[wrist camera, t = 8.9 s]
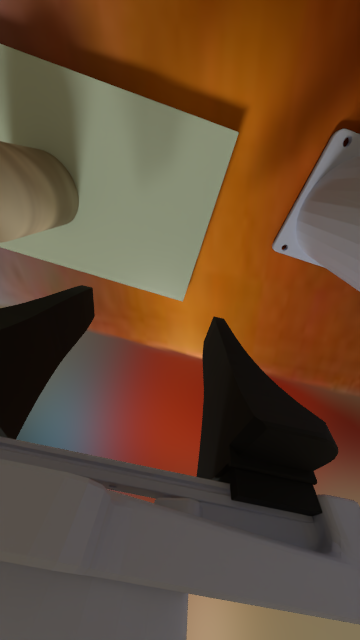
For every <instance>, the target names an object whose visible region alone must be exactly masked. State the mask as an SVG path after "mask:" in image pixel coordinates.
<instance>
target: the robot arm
mask: <svg viewBox="0 0 360 640" xmlns="http://www.w3.org/2000/svg"><path fill="white" fill-rule="evenodd" d="M346 137H347V138H348V139H349V142H348V144H347V145H346V147H344V146H343V141H344V140H345V138H346ZM283 245H287V246H286V248H285V249H283V250H282V249H281V248H282V246H283ZM272 248H273V250H275V251H276V252H279V253H282V254H285V255H288V256H291V257H294V258H298V259H301V260H304V261H307V262H310V263H313V264H316V265H319V266H322V267H325V268H327V269H328V270H329V271H331V272H332V273H334V274H335V275H337V276H338V277H340V278H341V279H342V280H344V281H345V282H347V283H348V284H350V285H351V286H352V287H354V288H355V289H357V290H358V291H360V134H358V133H356V132H353V131H351V130H348V129H341V130H338V131H336V132H335V133H334V134H333V135H332V137H331V138H330V140H329V142H328V144H327V146H326V147H325V149H324V151H323V153H322V155H321V157H320V158H319V160H318V162H317V164H316V166H315V167H314V169H313V171H312V173H311V175H310V177H309V178H308V180H307V182H306V184H305V186H304V188H303V189H302V191H301V193H300V195H299V197H298V199H297V200H296V202H295V204H294V206H293V208H292V209H291V211H290V213H289V215H288V217H287V219H286V220H285V222H284V224H283V226H282V228H281V230H280V231H279V233H278V235H277V237H276V239H275V241H274V242H273V245H272ZM94 316H95V315H94V302H93V288H91V287H87V286H83V285H82V286H77V287H74V288H71V289H67V290H64V291H61V292H58V293H55V294H52V295H49V296H46V297H43V298H39V299H36V300H32V301H29V302H26V303H22V304H18V305H14V306H9V307H5V308H0V640H186V632H187V610H188V594H194V595H199V596H205V597H210V598H216V599H222V600H227V601H233V602H238V603H244V604H250V605H255V606H261V607H266V608H272V609H277V610H283V611H288V612H294V613H299V614H305V615H310V616H316V617H321V618H327V619H332V620H339V621H343V622H349V623H354V624H360V507H359V505H358V503H357V502H355V501H354V500H350V499H345V498H340V497H335V496H330V495H316V492H315V490H314V487H313V485H315V484H317V479H316V477H315V474H314V472H313V471H314V470H316V469H318V468H320V467H322V466H324V465H326V464H327V463H329V462H331V461H332V460H334V459H335V457H336V456H337V454H338V447H337V445H336V443H335V441H334V439H333V437H332V435H331V433H330V431H329V429H328V427H327V425H326V423H325V422H324V421H323V420H321V419H320V418H318V417H317V416H316V415H314V414H313V413H312V412H310V411H309V410H307V409H306V408H305V407H303V406H302V405H300V404H299V403H298V402H297V401H296V400H294V399H293V398H292V397H291V396H289V395H288V394H287V393H286V392H285V391H284V390H282V389H281V388H280V387H279V386H278V385H276V383H274V381H272V380H271V379H270V378H269V377H268V376H267V375H266V374H265V373H264V372H263V371H262V370H261V369H260V368H259V366H258V365H257V364H256V363H255V362H254V361H253V360H252V359H251V357H250V356H249V355H248V354H247V352H246V351H245V350H244V348H243V347H242V346H241V344H240V343H239V342H238V340H237V339H236V337H235V336H234V334H233V333H232V331H231V329H230V328H229V326H228V325H227V323H226V321H225V320H224V319H222V318H218V317H213V320H212V322H211V325H210V327H209V330H208V333H207V335H206V338H205V340H204V346H203V379H204V404H203V418H202V419H203V420H202V431H201V441H200V452H199V461H198V470H197V477H194V476H189V475H185V474H180V473H175V472H170V471H165V470H160V469H155V468H151V467H146V466H141V465H136V464H131V463H126V462H122V461H117V460H112V459H107V458H102V457H97V456H92V455H88V454H83V453H78V452H73V451H68V450H63V449H59V448H53V447H48V446H44V445H39V444H34V443H29V442H25V441H20V440H16V438H17V436H18V434H19V432H20V430H21V428H22V426H23V424H24V422H25V421H26V419H27V417H28V415H29V413H30V411H31V410H32V408H33V406H34V404H35V402H36V401H37V399H38V397H39V395H40V394H41V392H42V390H43V389H44V387H45V386H46V384H47V382H48V381H49V379H50V377H51V376H52V374H53V373H54V371H55V370H56V368H57V367H58V365H59V364H60V362H61V361H62V360H63V358H64V357H65V356H66V354H67V353H68V352H69V351H70V350H71V348H72V347H73V346H74V345H75V344H76V343H77V341H78V340H79V339H80V337H81V336H82V335H83V334H84V333H85V331H86V330H87V328H88V327H89V325H90V324H91V322H92V320H93V318H94ZM107 489H111V490H116V491H121V492H126V493H131V494H136V495H141V496H146V497H151V498H156V500H155V503H151V502H147V501H144V500H141V499H137V498H134V497H130V496H127V495H124V494H120V493H117V492H114V491H110V490H107Z"/></svg>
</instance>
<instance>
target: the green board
mask: <svg viewBox="0 0 360 640" xmlns="http://www.w3.org/2000/svg"><path fill="white" fill-rule="evenodd" d="M238 134H239V132H237V131H234V130H232V129H229V128H226V127H223V126H221V125H218V124H215V123H213V122H210V121H207V120H205V119H202V118H199V117H197V116H194V115H191V114H188V113H186V112H183V111H180V110H178V109H175V108H172V107H170V106H167V105H164V104H161V103H159V102H156V101H153V100H151V99H148V98H145V97H143V96H140V95H137V94H134V93H132V92H129V91H126V90H124V89H121V88H118V87H116V86H113V85H110V84H107V83H105V82H102V81H99V80H97V79H94V78H91V77H89V76H86V75H83V74H80V73H78V72H75V71H72V70H70V69H67V68H64V67H62V66H59V65H56V64H54V63H51V62H48V61H45V60H43V59H40V58H37V57H35V56H32V55H29V54H27V53H24V52H21V51H18V50H16V49H13V48H10V47H8V46H5V45H2V44H0V141H2V142H7V143H12V144H17V145H21V146H26V147H31V148H36V149H40V150H44V151H46V152H48V153H50V154H51V155H53V156H54V157H56V158H57V159H58V160H59V161H60V162H61V163H62V164H63V165H64V166H65V167H66V169H67V170H68V172H69V173H70V175H71V176H72V178H73V180H74V183H75V185H76V188H77V192H78V197H79V207H78V212H77V214H76V216H75V218H74V219H73V220H72V221H71V222H70V223H68V224H65V225H62V226H59V227H55V228H52V229H48V230H45V231H42V232H38V233H35V234H31V235H28V236H25V237H21V238H18V239H14V240H11V241H8V242H2V243H0V247H1V248H5V249H8V250H11V251H15V252H18V253H21V254H25V255H28V256H32V257H35V258H38V259H42V260H45V261H48V262H52V263H55V264H58V265H62V266H65V267H69V268H72V269H75V270H79V271H82V272H85V273H89V274H92V275H96V276H99V277H102V278H106V279H109V280H112V281H116V282H119V283H122V284H126V285H129V286H133V287H136V288H139V289H143V290H146V291H149V292H153V293H156V294H159V295H163V296H166V297H170V298H173V299H176V300H180V301H183V299H184V296H185V293H186V290H187V287H188V284H189V281H190V278H191V275H192V272H193V269H194V266H195V263H196V260H197V257H198V254H199V251H200V248H201V245H202V242H203V239H204V236H205V233H206V230H207V227H208V224H209V221H210V218H211V215H212V212H213V209H214V206H215V203H216V200H217V197H218V194H219V191H220V188H221V185H222V182H223V179H224V176H225V173H226V170H227V167H228V164H229V161H230V158H231V155H232V152H233V149H234V146H235V143H236V140H237V137H238Z"/></svg>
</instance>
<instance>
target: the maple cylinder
mask: <svg viewBox="0 0 360 640" xmlns="http://www.w3.org/2000/svg"><path fill="white" fill-rule="evenodd" d="M78 207H79V197H78V192H77V188H76V185H75V183H74V180H73V178H72V176H71V175H70V173H69V172H68V170H67V169H66V167H65V166H64V165H63V164H62V163H61V162H60V161H59V160H58V159H57V158H56V157H54V156H53V155H51V154H50V153H48V152H46V151H44V150H40V149H36V148H31V147H26V146H21V145H17V144H12V143H7V142H2V141H0V243H2V242H8V241H11V240H14V239H18V238H21V237H25V236H28V235H31V234H35V233H38V232H42V231H45V230H48V229H52V228H55V227H59V226H62V225H65V224H68V223H70V222H71V221H72V220H73V219H74V218H75V216H76V214H77V212H78Z"/></svg>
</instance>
